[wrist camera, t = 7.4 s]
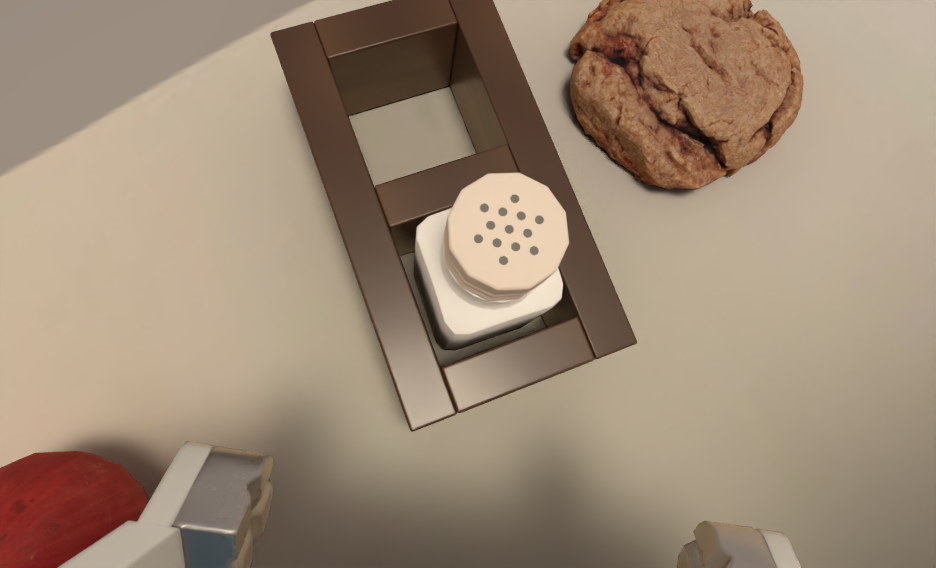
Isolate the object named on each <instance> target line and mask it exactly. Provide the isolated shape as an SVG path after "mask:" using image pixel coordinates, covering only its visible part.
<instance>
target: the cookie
mask: <svg viewBox="0 0 936 568" xmlns="http://www.w3.org/2000/svg"><path fill="white" fill-rule="evenodd" d="M752 6H753V5H752V3H751V1H750V0H603V1H602V2H601V3H600V4H599V6H598V7H597V8H596V9H595V10H593V11H592V12H591V13H590V14H589V15H588V19H587V21H586V23H585V25H584V26H583V27H582V29H581V30H580V31H579V32H578V33H577V34H576V35H575V37H574V38H573V39H572V41H571V44H570V53H571V57H572V58H573V59H575V60H578V61H577V63H576V64H575V65H576V66H575V67H574V69H573V73H572V77H571V89H570V95H571V100H572V104H573V107H574V111H575V113H576V118H577V120H578V121H579V123H580V124H581V125H582V126H583V129H584V132H585V135H588V134H590V135H591V136H592V137H593V138H594V140H595V142H596V143H597V145H598V146H600V147H601V148H603V149H605V150H606V152H607V153H608V154H609V155H610V157H611V158H612V159H615V160H616V161H617V163H618V164H621V165H623V166H624V167H625V168H626V169H627V170H629V171H631V172H633V173H635V176H634V178H636V179H638V180H642V181H644V182H645V183H646V184H648V185H649V186H651V185H655V186H659V187H663V188H666V189H667V190H669V189H673V188H678V189H680V190H681V189H684V188H688V189H697V188H700V187H702V186H704V185H706V184H708V183H711V182H712V181H714V180H716V179H718V178H720V177H722V176H725V174H726V172H727V173H728V175H729V176H731V175H733V174H735V173H736V172H737V171H738V170H739V169H740V168H741V167H743V166H745V165H746V164H750V163H752V162H755V161H756V160H758V159H759V158H760V157H761V156H762V155H763V154H764V153H765V152H766V151H767V150H768V149H769V148H771V147H773V146H774V145H775V144H776V143H777V141H778V140H779V139H780V138H781V136H782V135H783V133H784V132H785V131H786V129H788V128H789V127H790V126H791V125H792V123H793V122H794V120H795V119H796V117H797V114H798V111H799V109H800V107H801V101H802V91H803V76H802V74H801V69H800V60H799V58H798V55H797V53H796V51H795V49H794V48H793V46H792V44H791V42H790V40H789V39H788V38H787V36H786V35H785V33H784V31H783V29H782V27H781V25H780V24H779V22H778V21H776V20H775V19H774V18H773V17H772V16H771V15H770V14H769V12H768V11H766V10H762V11H758V12H756V13H755V14H753V12H752V11H751V10H750V9H751V7H752Z"/></svg>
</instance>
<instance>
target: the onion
mask: <svg viewBox="0 0 936 568" xmlns="http://www.w3.org/2000/svg"><path fill="white" fill-rule="evenodd" d="M148 502H149V501H148V498H147V496H146V493H145V490H144V488H143V487H142V486H141V485H140V484H139V483H138V482H137V481H136V480H135V479H134V478H133V477H132V476H131V475H130V474H129V473H128V472H127V471H126V470H125V469H124V468H123V467H122V466H121V465H119V464H116V463H114V462H111V461H108V460H106V459H103V458H101V457H98V456H95V455H93V454H90V453H84V452H77V451H70V452H46V453H34V454H32V455H29V456H27V457H24V458H22V459H19V460H17V461H15V462H13V463H10V464H8V465H6V466H4V467H1V468H0V568H58V567H59V566H61V565H62V564H64V563H65V562H67V561H68V560H70V559H71V558H73V557H74V556H76V555H77V554H79V553H80V552H82V551H83V550H85V549H86V548H88V547H89V546H91V545H92V544H94V543H95V542H97V541H98V540H100V539H101V538H103V537H104V536H106V535H107V534H109V533H110V532H112V531H113V530H115V529H116V528H118V527H119V526H121V525H122V524H124V523H125V522H127V521H138V519H139V518H140V516H141V514H142V512H143V511H144V509H145V507H146V506H147V504H148Z"/></svg>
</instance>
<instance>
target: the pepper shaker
mask: <svg viewBox="0 0 936 568" xmlns="http://www.w3.org/2000/svg"><path fill="white" fill-rule="evenodd" d="M568 245H569V237H568V227H567V218H566V212H565V210H564V209H563V208H562V206H561V205H560V203H559V202H558V201H557V199H556V198H555V196H554V195H553V194H552V192H551V191H550V189H549V188H548V187H547V186H545V185H543V184H541V183H539V182H537V181H535V180H533V179H531V178H529V177H527V176H525V175H523V174H521V173H491V174H486V175H485V176H483V177H482V178H480V179H478V180H477V181H475V182H473V183H472V184H470V185H468V186H467V187H465V188H464V189H462V190H461V192H460V194H459V196H458V198H457V199H456V201H455V203H454V205H453V207H452V208H450V209H447V210H445V211H442V212H439V213H436V214H433V215H431V216H428V217H427V218H426V219H425V220H424V221H423V222H422V223H420V224H419V225H418V226H417V229H416V241H415V260H414V277H415V280H416V283H417V286H418V289H419V292H420V295H421V298H422V301H423V304H424V307H425V310H426V313H427V316H428V319H429V322H430V325H431V328H432V330H433V333H434V336H435V339H436V341H437V342H438V344H439V345H440V346H441V347H442V348H443V349H445V350H457V349H460V348H463V347H466V346H469V345H472V344H475V343H478V342H481V341H484V340H486V339H489V338H492V337H495V336H498V335H501V334H504V333H507V332H510V331H513V330H516V329H519V328H521V327H523V326H524V325H526V324H527V323H529V322H531V321H532V320H534V319H535V318H537V317H538V316H540V315H542V314H543V313H545V312H546V311H548V310H549V309H551V308H552V307H554V306H555V305H556V304H557V303H558V302H559V301H560V300H561V299H562V289H563V282H562V278H561V275H560V272H559V269H558V266H559V264H560V262H561V260H562V258H563V256H564V253H565V251H566V249H567V247H568Z"/></svg>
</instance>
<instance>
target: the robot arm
mask: <svg viewBox="0 0 936 568" xmlns="http://www.w3.org/2000/svg"><path fill="white" fill-rule="evenodd" d="M272 469H273V457H272V456H270V455H264V454H258V453H253V452H247V451H241V450H236V449H230V448H224V447H219V446H213V445H207V444H201V443H194V442H188V441H187V442H186V443H185V444H184V445H183V446H182V447H181V448H180V449H179V451H178V452H177V454H176V456H175V457H174V459H173V461H172V463H171V464H170V466H169V468H168V469H167V471H166V473H165V475H164V476H163V478H162V480H161V481H160V483H159V485H158V487H157V488H156V490H155V492H154V494H153V495H152V497H151V499H150V500H149V502H148V504H147V506H146V507H145V509H144V511H143V512H142V514H141V516H140V518H139V519H138V521H127V522H125V523H124V524H122V525H121V526H119V527H118V528H116V529H115V530H113V531H112V532H110V533H109V534H107V535H106V536H104V537H103V538H101V539H100V540H98V541H97V542H95V543H94V544H92V545H91V546H89V547H88V548H86V549H85V550H83V551H82V552H80V553H79V554H77V555H76V556H74V557H73V558H71V559H70V560H68V561H67V562H65V563H64V564H62V565H61V566H59V567H58V568H250V566H251V563H252V560H253V542H254V541H256V540H257V539H258V538H259V537H261V536H262V533H263V530H264V527H265V525H266V522H267V518H268V514H269V511H270V507H271V502H272V494H273V483H272V482H271V481H270V480H269V477H270V474H271V472H272ZM694 535H695V538H696V540H694V541H692V542H690V543H688V544H686V545H684V547H683V548H682V550H681V552H680V554H679V555H678V561H677V567H676V568H802V567H801V565H800V563H799V561H798V558H797V556H796V554H795V552H794V550H793V548H792V546H791V543H790V541H789V540H788V538H787V537H786V536H785V535H784V534H783V533H781V532H776V531H769V530H762V529H754V528H752V527H746V526H739V525H731V524H724V523H717V522H709V521H704V522H702V523H699V524H698V526H697V527H696V529H695V530H694Z"/></svg>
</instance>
